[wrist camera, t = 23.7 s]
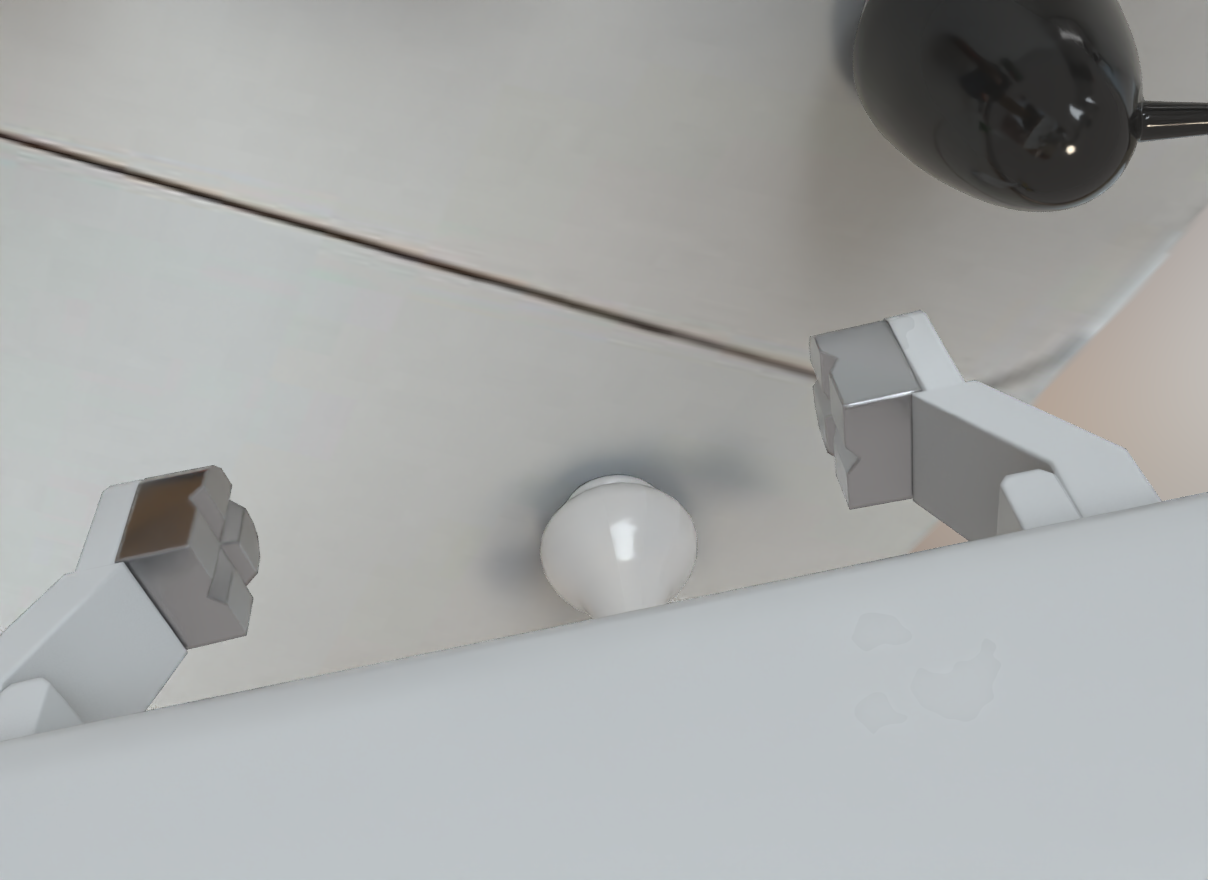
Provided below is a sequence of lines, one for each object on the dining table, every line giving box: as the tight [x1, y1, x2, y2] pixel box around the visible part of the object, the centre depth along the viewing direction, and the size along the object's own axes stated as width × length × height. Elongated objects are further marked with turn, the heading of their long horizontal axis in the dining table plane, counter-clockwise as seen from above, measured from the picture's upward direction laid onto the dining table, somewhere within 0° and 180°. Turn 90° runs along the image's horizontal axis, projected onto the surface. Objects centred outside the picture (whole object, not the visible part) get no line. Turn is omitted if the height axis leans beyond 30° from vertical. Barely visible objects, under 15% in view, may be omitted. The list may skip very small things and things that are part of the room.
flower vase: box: [540, 475, 698, 619], centre depth 59 cm, size 13×18×25 cm
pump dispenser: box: [853, 0, 1208, 212], centre depth 44 cm, size 10×10×15 cm
